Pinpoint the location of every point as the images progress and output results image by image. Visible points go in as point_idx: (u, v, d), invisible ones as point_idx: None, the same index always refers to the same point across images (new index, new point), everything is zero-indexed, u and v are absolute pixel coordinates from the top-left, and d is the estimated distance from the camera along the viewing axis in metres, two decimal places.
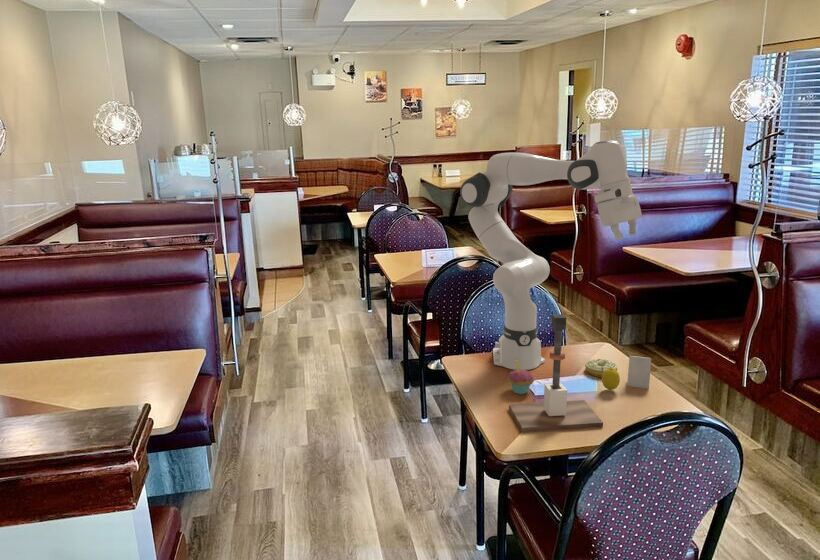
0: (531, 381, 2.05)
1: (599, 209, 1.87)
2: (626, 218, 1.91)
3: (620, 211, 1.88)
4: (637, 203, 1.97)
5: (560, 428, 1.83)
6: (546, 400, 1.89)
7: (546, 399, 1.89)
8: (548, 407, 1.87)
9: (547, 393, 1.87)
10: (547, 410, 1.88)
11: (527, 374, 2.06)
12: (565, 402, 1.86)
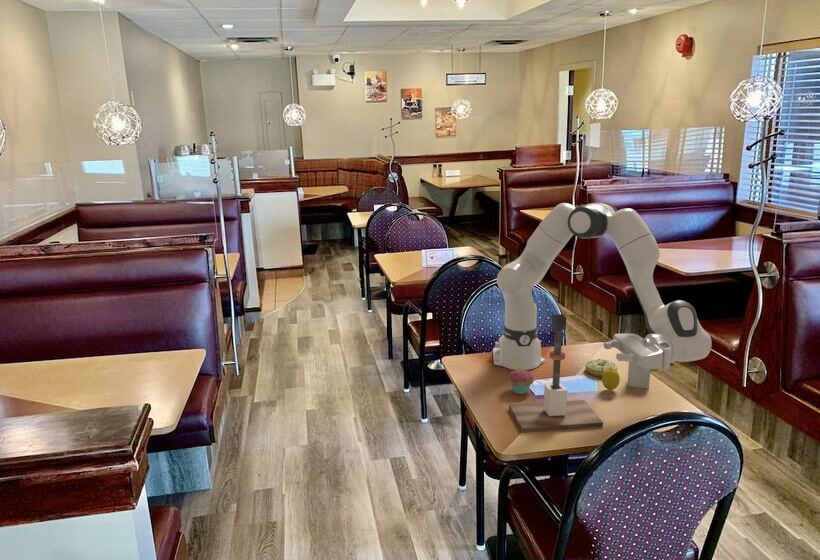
0: (531, 381, 2.05)
1: (659, 355, 1.78)
2: None
3: None
4: None
5: (560, 428, 1.83)
6: (546, 400, 1.89)
7: (546, 399, 1.89)
8: (548, 407, 1.87)
9: (547, 393, 1.87)
10: (547, 410, 1.88)
11: (527, 374, 2.06)
12: (565, 402, 1.86)
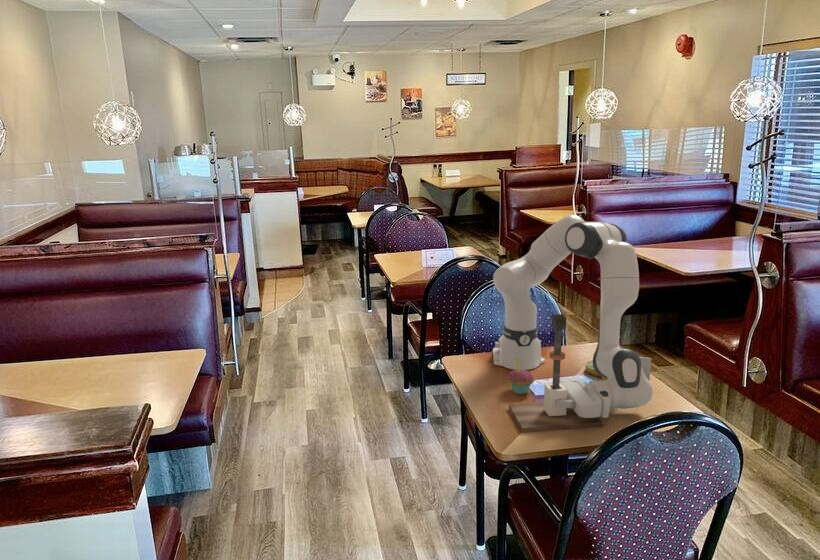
0: (531, 381, 2.05)
1: (597, 405, 1.80)
2: None
3: None
4: None
5: (560, 428, 1.83)
6: (546, 400, 1.89)
7: (546, 399, 1.89)
8: (548, 407, 1.87)
9: (547, 393, 1.87)
10: (547, 410, 1.88)
11: (527, 374, 2.06)
12: None
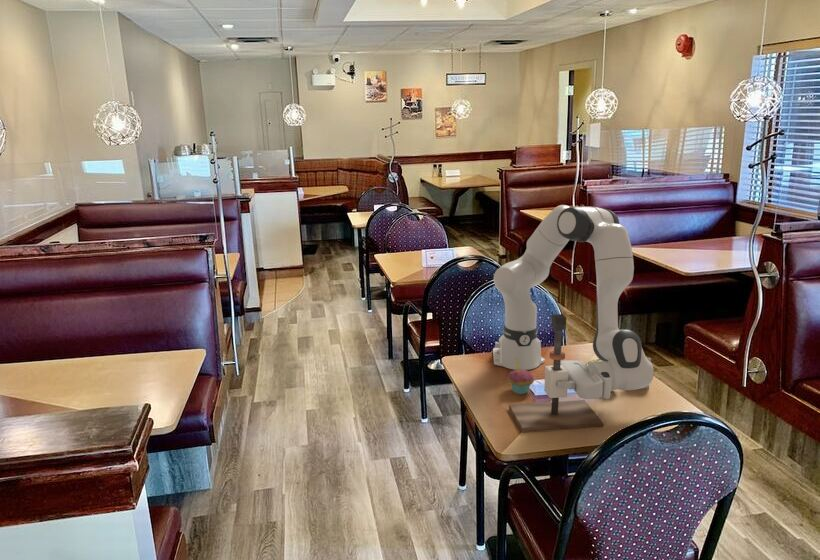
0: (531, 381, 2.05)
1: (598, 386, 1.78)
2: None
3: None
4: None
5: (560, 428, 1.83)
6: (547, 382, 1.87)
7: (546, 381, 1.88)
8: (549, 389, 1.86)
9: (548, 375, 1.86)
10: (548, 392, 1.87)
11: (527, 374, 2.06)
12: None
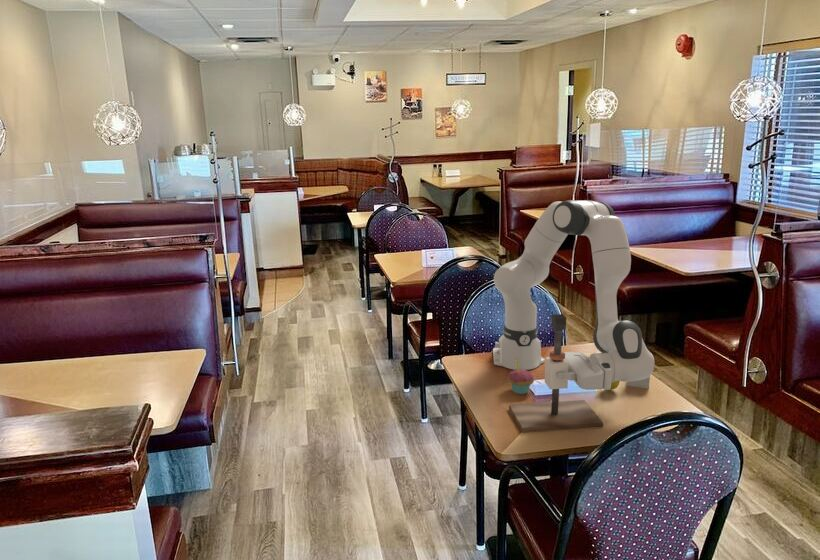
0: (531, 381, 2.05)
1: (599, 376, 1.77)
2: None
3: None
4: None
5: (560, 428, 1.83)
6: (547, 373, 1.87)
7: (547, 372, 1.87)
8: (549, 380, 1.85)
9: (548, 366, 1.85)
10: (548, 383, 1.86)
11: (527, 374, 2.06)
12: None
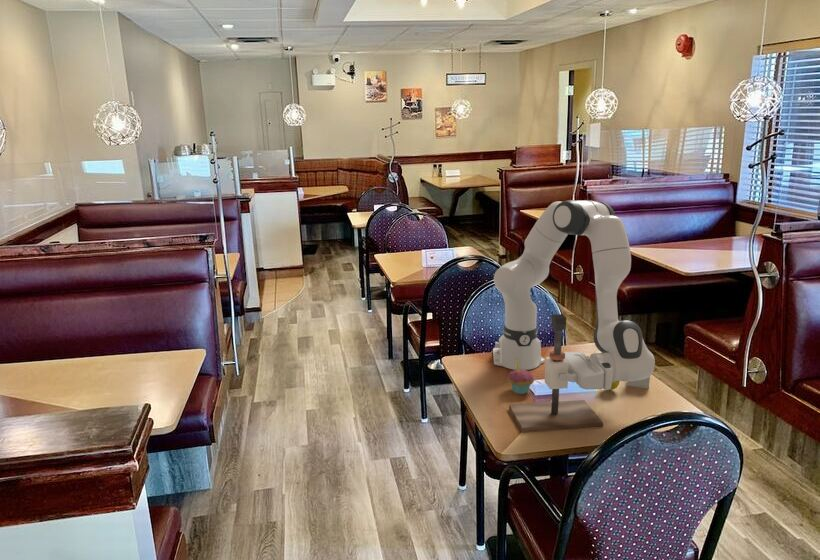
0: (531, 381, 2.05)
1: (599, 376, 1.77)
2: None
3: None
4: None
5: (560, 428, 1.83)
6: (547, 373, 1.87)
7: (547, 372, 1.87)
8: (549, 380, 1.85)
9: (548, 366, 1.85)
10: (548, 383, 1.86)
11: (527, 374, 2.06)
12: None
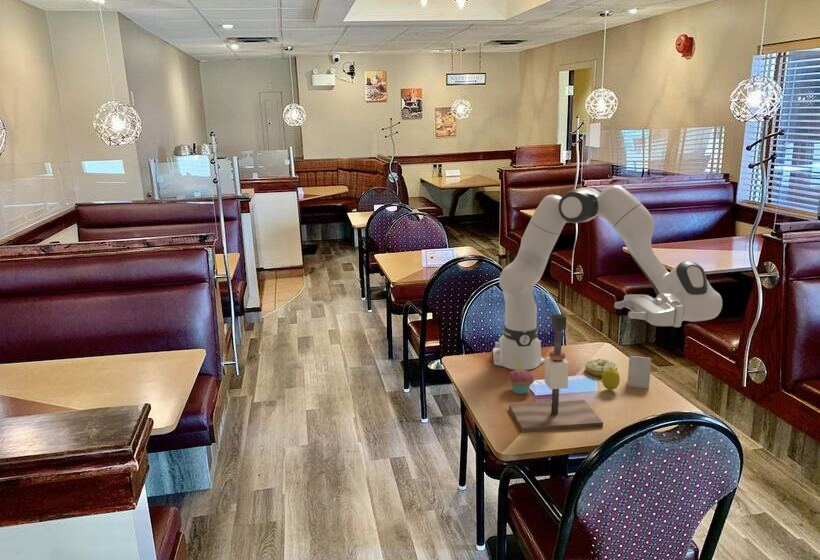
0: (531, 381, 2.05)
1: (670, 312, 1.78)
2: None
3: None
4: None
5: (560, 428, 1.83)
6: (547, 373, 1.87)
7: (547, 372, 1.87)
8: (549, 380, 1.85)
9: (548, 366, 1.85)
10: (548, 383, 1.86)
11: (527, 374, 2.06)
12: (566, 375, 1.84)
